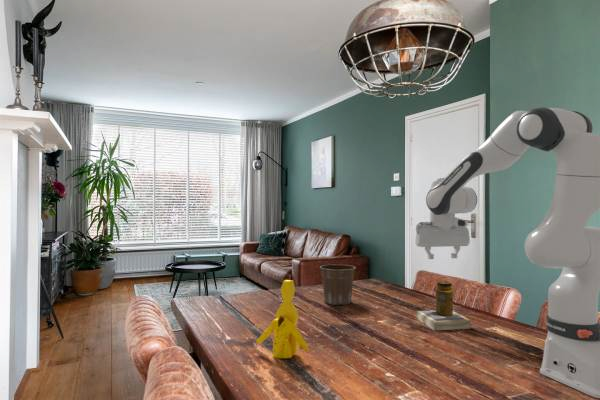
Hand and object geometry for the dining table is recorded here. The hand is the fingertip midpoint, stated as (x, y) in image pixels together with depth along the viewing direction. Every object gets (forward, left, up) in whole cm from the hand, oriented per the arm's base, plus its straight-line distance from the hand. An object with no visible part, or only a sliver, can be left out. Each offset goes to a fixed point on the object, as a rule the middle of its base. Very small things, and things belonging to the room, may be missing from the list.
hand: (442, 258), depth 150 cm
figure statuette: (-21, +62, -25) cm, 70 cm away
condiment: (0, 0, -21) cm, 21 cm away
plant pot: (+37, +31, -25) cm, 54 cm away
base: (0, 0, -24) cm, 24 cm away
